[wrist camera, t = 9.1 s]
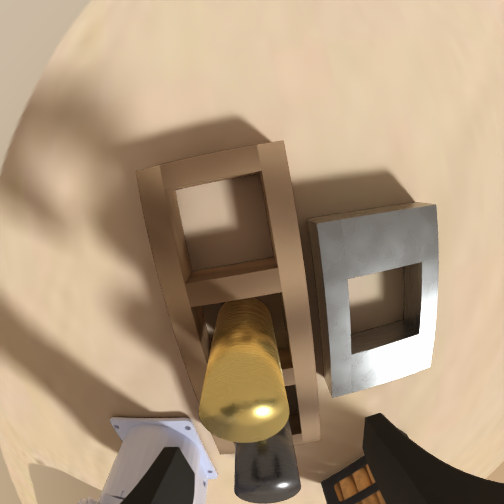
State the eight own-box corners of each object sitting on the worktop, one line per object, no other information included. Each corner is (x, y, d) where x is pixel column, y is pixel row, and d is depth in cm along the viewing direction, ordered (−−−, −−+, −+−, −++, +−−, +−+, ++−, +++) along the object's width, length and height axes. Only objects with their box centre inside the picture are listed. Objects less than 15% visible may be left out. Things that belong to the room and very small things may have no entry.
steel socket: (415, 351, 20) (429, 366, 18) (324, 377, 20) (332, 397, 18) (415, 201, 18) (436, 204, 15) (307, 218, 18) (316, 223, 15)
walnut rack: (314, 419, 21) (320, 439, 19) (221, 433, 21) (220, 454, 19) (278, 147, 17) (283, 140, 14) (150, 173, 17) (135, 171, 14)
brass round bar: (275, 339, 19) (293, 436, 11) (223, 348, 19) (211, 446, 11) (266, 291, 19) (283, 375, 10) (211, 301, 19) (187, 387, 10)
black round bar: (286, 407, 21) (302, 498, 12) (242, 414, 21) (241, 505, 12) (281, 374, 20) (298, 470, 11) (232, 381, 20) (227, 478, 11)
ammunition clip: (399, 429, 22) (446, 514, 10) (406, 434, 22) (452, 514, 11) (320, 482, 24) (339, 567, 12) (330, 485, 24) (350, 566, 12)
